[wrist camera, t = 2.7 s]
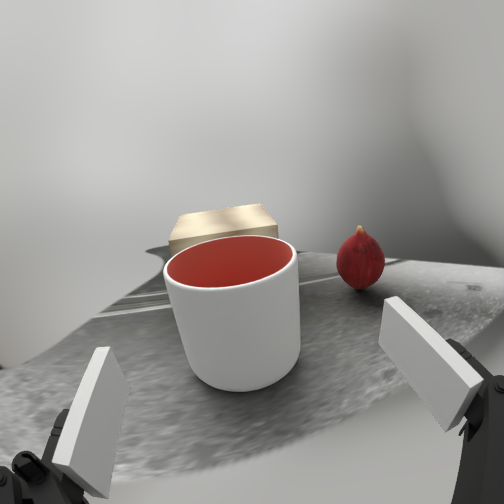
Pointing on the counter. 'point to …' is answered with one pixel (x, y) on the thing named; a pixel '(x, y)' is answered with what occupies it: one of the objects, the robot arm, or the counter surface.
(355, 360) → the counter surface
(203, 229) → the block top
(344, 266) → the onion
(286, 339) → the cup
